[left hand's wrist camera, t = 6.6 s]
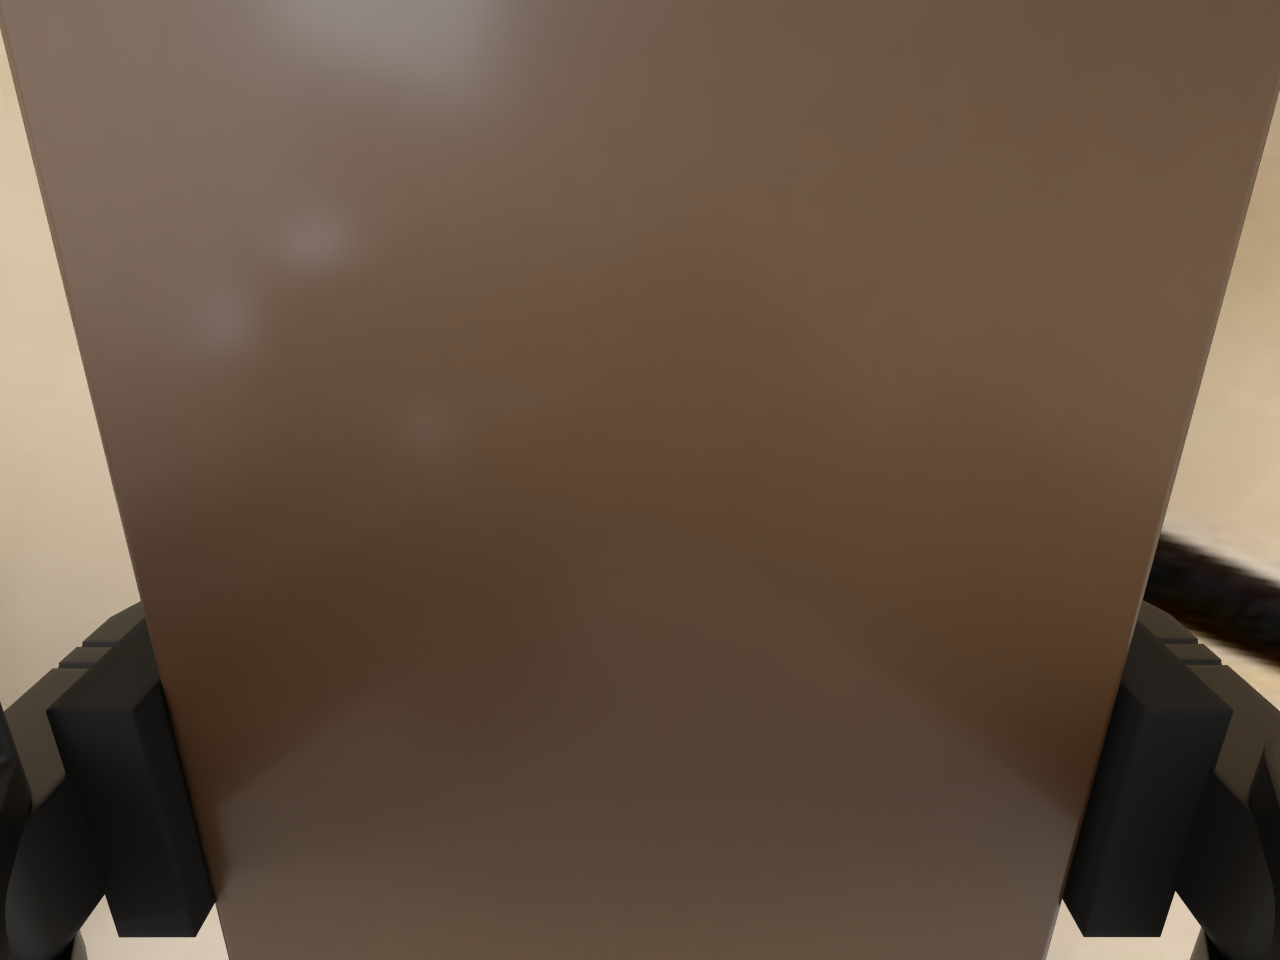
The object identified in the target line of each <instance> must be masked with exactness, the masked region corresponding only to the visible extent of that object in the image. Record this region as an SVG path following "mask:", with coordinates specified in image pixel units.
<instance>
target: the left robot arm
mask: <svg viewBox="0 0 1280 960" xmlns="http://www.w3.org/2000/svg"><path fill="white" fill-rule="evenodd" d="M1175 891H1176V892H1177V893H1178V895H1179V896H1180V898H1181V899H1182V900H1183V902H1184V903H1185V905H1186V906H1187V907H1188V909H1189V910H1190V912H1191V913H1192V914H1193V916H1194V917H1195V918H1196V920H1197V921H1198V923H1199V924H1200V925H1201V930H1200V933H1199V935H1198V938H1197V941H1196V944H1195V947H1194V950H1193V953H1192V955H1191V958H1190V960H1280V711H1279V710H1278V709H1277V708H1275V707H1274V706H1273V705H1272V704H1271V703H1270V702H1269V701H1268V700H1266V699H1265V698H1264V697H1263V696H1262V695H1261V694H1260V693H1258V692H1257V691H1256V690H1255V689H1254V688H1253V687H1252V686H1250V685H1249V684H1248V683H1247V682H1246V681H1245V680H1244V679H1243V678H1241V677H1240V676H1239V675H1238V674H1237V673H1236V672H1235V671H1233V670H1232V669H1231V668H1230V667H1229V666H1228V665H1222V663H1221V659H1220V658H1219V657H1218V656H1216V655H1215V654H1214V653H1213V652H1212V651H1211V650H1210V649H1209V648H1207V647H1206V646H1205V645H1204V644H1198V639H1197V638H1196V637H1195V636H1194V635H1193V634H1191V633H1190V632H1189V631H1188V630H1187V629H1186V628H1185V627H1184V626H1182V625H1181V624H1180V623H1179V622H1178V621H1177V620H1176V619H1174V618H1173V617H1172V616H1171V615H1170V614H1168V613H1166V612H1164V611H1163V610H1161V609H1159V608H1157V607H1155V606H1153V605H1151V604H1149V603H1147V602H1145V601H1144V600H1142V603H1141V607H1140V611H1139V614H1138V618H1137V622H1136V626H1135V629H1134V633H1133V637H1132V640H1131V644H1130V648H1129V652H1128V655H1127V659H1126V663H1125V666H1124V670H1123V674H1122V678H1121V681H1120V685H1119V689H1118V692H1117V696H1116V700H1115V704H1114V707H1113V711H1112V715H1111V718H1110V722H1109V726H1108V730H1107V733H1106V737H1105V741H1104V745H1103V748H1102V752H1101V756H1100V759H1099V763H1098V767H1097V771H1096V774H1095V778H1094V782H1093V785H1092V789H1091V793H1090V797H1089V800H1088V804H1087V808H1086V811H1085V815H1084V819H1083V823H1082V826H1081V830H1080V834H1079V837H1078V841H1077V845H1076V849H1075V852H1074V856H1073V860H1072V863H1071V867H1070V871H1069V875H1068V878H1067V882H1066V886H1065V889H1064V893H1063V897H1062V899H1063V901H1064V902H1065V904H1066V906H1067V908H1068V910H1069V911H1070V913H1071V915H1072V917H1073V919H1074V920H1075V922H1076V924H1077V926H1078V927H1079V929H1080V931H1081V933H1082V935H1083V936H1084V937H1160V936H1161V933H1162V930H1163V927H1164V924H1165V921H1166V918H1167V915H1168V912H1169V909H1170V906H1171V902H1172V899H1173V896H1174V893H1175ZM104 894H105V896H106V899H107V902H108V905H109V908H110V911H111V914H112V917H113V920H114V923H115V926H116V929H117V932H118V936H119V937H196V935H197V934H198V932H199V930H200V928H201V926H202V925H203V923H204V921H205V919H206V918H207V916H208V914H209V912H210V910H211V909H212V907H213V905H214V903H215V899H214V895H213V891H212V887H211V883H210V879H209V875H208V871H207V867H206V863H205V859H204V855H203V851H202V847H201V843H200V838H199V834H198V830H197V826H196V822H195V818H194V814H193V810H192V806H191V802H190V798H189V794H188V790H187V786H186V781H185V777H184V773H183V769H182V765H181V761H180V757H179V753H178V749H177V745H176V741H175V737H174V733H173V729H172V724H171V720H170V716H169V712H168V708H167V704H166V700H165V696H164V692H163V688H162V684H161V680H160V676H159V672H158V668H157V663H156V659H155V655H154V651H153V647H152V643H151V639H150V635H149V631H148V627H147V623H146V619H145V615H144V611H143V606H142V602H141V601H140V602H138V603H137V604H135V605H133V606H131V607H129V608H127V609H125V610H123V611H121V612H120V613H118V614H116V615H114V616H112V617H110V618H109V619H108V620H107V621H106V622H105V623H104V624H102V625H101V626H100V627H99V628H98V629H97V630H96V631H95V632H93V633H92V634H91V635H90V636H89V637H88V638H87V639H86V640H84V641H83V645H82V647H76V648H75V649H74V650H73V651H72V652H71V653H70V654H69V655H67V656H66V657H65V658H64V659H63V660H62V661H61V662H60V663H59V668H53V669H52V670H51V671H49V672H48V673H47V674H46V675H45V676H44V677H43V678H42V679H40V680H39V681H38V682H37V683H36V684H35V685H34V686H33V687H31V688H30V689H29V690H28V691H27V692H26V693H25V694H24V695H22V696H21V697H20V698H19V699H18V700H17V701H16V702H15V703H13V704H12V705H11V706H10V707H9V708H8V709H7V710H6V711H4V712H3V709H2V706H1V703H0V960H87V953H86V947H85V944H84V941H83V938H82V935H81V933H80V930H79V929H80V928H81V927H82V925H83V924H84V922H85V921H86V920H87V918H88V917H89V915H90V914H91V913H92V911H93V910H94V908H95V907H96V906H97V904H98V903H99V901H100V900H101V899H102V897H103V896H104Z"/></svg>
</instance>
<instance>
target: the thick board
mask: <svg viewBox="0 0 1280 960" xmlns="http://www.w3.org/2000/svg"><path fill="white" fill-rule="evenodd" d="M0 28H1V33H2V37H3V41H4V45H5V49H6V53H7V57H8V61H9V65H10V69H11V73H12V77H13V81H14V85H15V90H16V94H17V98H18V102H19V106H20V110H21V114H22V118H23V122H24V126H25V130H26V134H27V138H28V142H29V147H30V151H31V155H32V159H33V163H34V167H35V171H36V175H37V179H38V183H39V187H40V191H41V195H42V199H43V204H44V208H45V212H46V216H47V220H48V224H49V228H50V232H51V236H52V240H53V244H54V248H55V252H56V256H57V260H58V265H59V269H60V273H61V277H62V281H63V285H64V289H65V293H66V297H67V301H68V305H69V309H70V313H71V317H72V322H73V326H74V330H75V334H76V338H77V342H78V346H79V350H80V354H81V358H82V362H83V366H84V370H85V374H86V379H87V383H88V387H89V391H90V395H91V399H92V403H93V407H94V411H95V415H96V419H97V423H98V427H99V431H100V436H101V440H102V444H103V448H104V452H105V456H106V460H107V464H108V468H109V472H110V476H111V480H112V484H113V488H114V492H115V497H116V501H117V505H118V509H119V513H120V517H121V521H122V525H123V529H124V533H125V537H126V541H127V545H128V549H129V554H130V558H131V562H132V566H133V570H134V574H135V578H136V582H137V586H138V590H139V594H140V598H141V602H142V606H143V611H144V615H145V619H146V623H147V627H148V631H149V635H150V639H151V643H152V647H153V651H154V655H155V659H156V663H157V668H158V672H159V676H160V680H161V684H162V688H163V692H164V696H165V700H166V704H167V708H168V712H169V716H170V720H171V724H172V729H173V733H174V737H175V741H176V745H177V749H178V753H179V757H180V761H181V765H182V769H183V773H184V777H185V781H186V786H187V790H188V794H189V798H190V802H191V806H192V810H193V814H194V818H195V822H196V826H197V830H198V834H199V838H200V843H201V847H202V851H203V855H204V859H205V863H206V867H207V871H208V875H209V879H210V883H211V887H212V891H213V895H214V899H215V904H216V908H217V912H218V916H219V920H220V924H221V928H222V932H223V936H224V940H225V944H226V948H227V952H228V956H229V960H1046V956H1047V953H1048V949H1049V945H1050V941H1051V938H1052V934H1053V930H1054V927H1055V923H1056V919H1057V915H1058V912H1059V908H1060V904H1061V901H1062V897H1063V893H1064V889H1065V886H1066V882H1067V878H1068V875H1069V871H1070V867H1071V863H1072V860H1073V856H1074V852H1075V849H1076V845H1077V841H1078V837H1079V834H1080V830H1081V826H1082V823H1083V819H1084V815H1085V811H1086V808H1087V804H1088V800H1089V797H1090V793H1091V789H1092V785H1093V782H1094V778H1095V774H1096V771H1097V767H1098V763H1099V759H1100V756H1101V752H1102V748H1103V745H1104V741H1105V737H1106V733H1107V730H1108V726H1109V722H1110V718H1111V715H1112V711H1113V707H1114V704H1115V700H1116V696H1117V692H1118V689H1119V685H1120V681H1121V678H1122V674H1123V670H1124V666H1125V663H1126V659H1127V655H1128V652H1129V648H1130V644H1131V640H1132V637H1133V633H1134V629H1135V626H1136V622H1137V618H1138V614H1139V611H1140V607H1141V603H1142V600H1143V596H1144V592H1145V588H1146V585H1147V581H1148V577H1149V574H1150V570H1151V566H1152V562H1153V559H1154V555H1155V551H1156V548H1157V544H1158V540H1159V536H1160V533H1161V529H1162V525H1163V522H1164V518H1165V514H1166V510H1167V507H1168V503H1169V499H1170V496H1171V492H1172V488H1173V484H1174V481H1175V477H1176V473H1177V469H1178V466H1179V462H1180V458H1181V455H1182V451H1183V447H1184V443H1185V440H1186V436H1187V432H1188V429H1189V425H1190V421H1191V417H1192V414H1193V410H1194V406H1195V403H1196V399H1197V395H1198V391H1199V388H1200V384H1201V380H1202V377H1203V373H1204V369H1205V365H1206V362H1207V358H1208V354H1209V351H1210V347H1211V343H1212V339H1213V336H1214V332H1215V328H1216V325H1217V321H1218V317H1219V313H1220V310H1221V306H1222V302H1223V299H1224V295H1225V291H1226V287H1227V284H1228V280H1229V276H1230V273H1231V269H1232V265H1233V261H1234V258H1235V254H1236V250H1237V247H1238V243H1239V239H1240V235H1241V232H1242V228H1243V224H1244V220H1245V217H1246V213H1247V209H1248V206H1249V202H1250V198H1251V194H1252V191H1253V187H1254V183H1255V180H1256V176H1257V172H1258V168H1259V165H1260V161H1261V157H1262V154H1263V150H1264V146H1265V142H1266V139H1267V135H1268V131H1269V128H1270V124H1271V120H1272V116H1273V113H1274V109H1275V105H1276V102H1277V98H1278V94H1279V90H1280V0H0Z"/></svg>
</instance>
